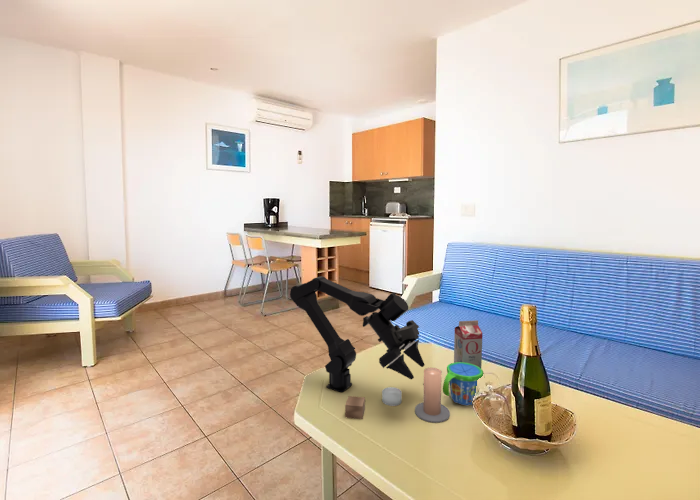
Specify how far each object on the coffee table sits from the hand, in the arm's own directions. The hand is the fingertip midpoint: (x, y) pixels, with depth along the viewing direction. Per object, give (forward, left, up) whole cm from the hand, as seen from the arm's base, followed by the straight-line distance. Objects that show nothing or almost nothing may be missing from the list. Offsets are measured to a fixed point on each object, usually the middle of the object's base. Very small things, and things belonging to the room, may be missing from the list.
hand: (418, 372), depth 106 cm
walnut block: (-15, -12, -12) cm, 22 cm away
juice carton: (+8, +23, -12) cm, 27 cm away
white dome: (-9, 0, -12) cm, 15 cm away
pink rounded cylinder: (+4, 0, -11) cm, 12 cm away
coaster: (+4, 0, -11) cm, 12 cm away
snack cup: (+10, +12, -12) cm, 20 cm away
